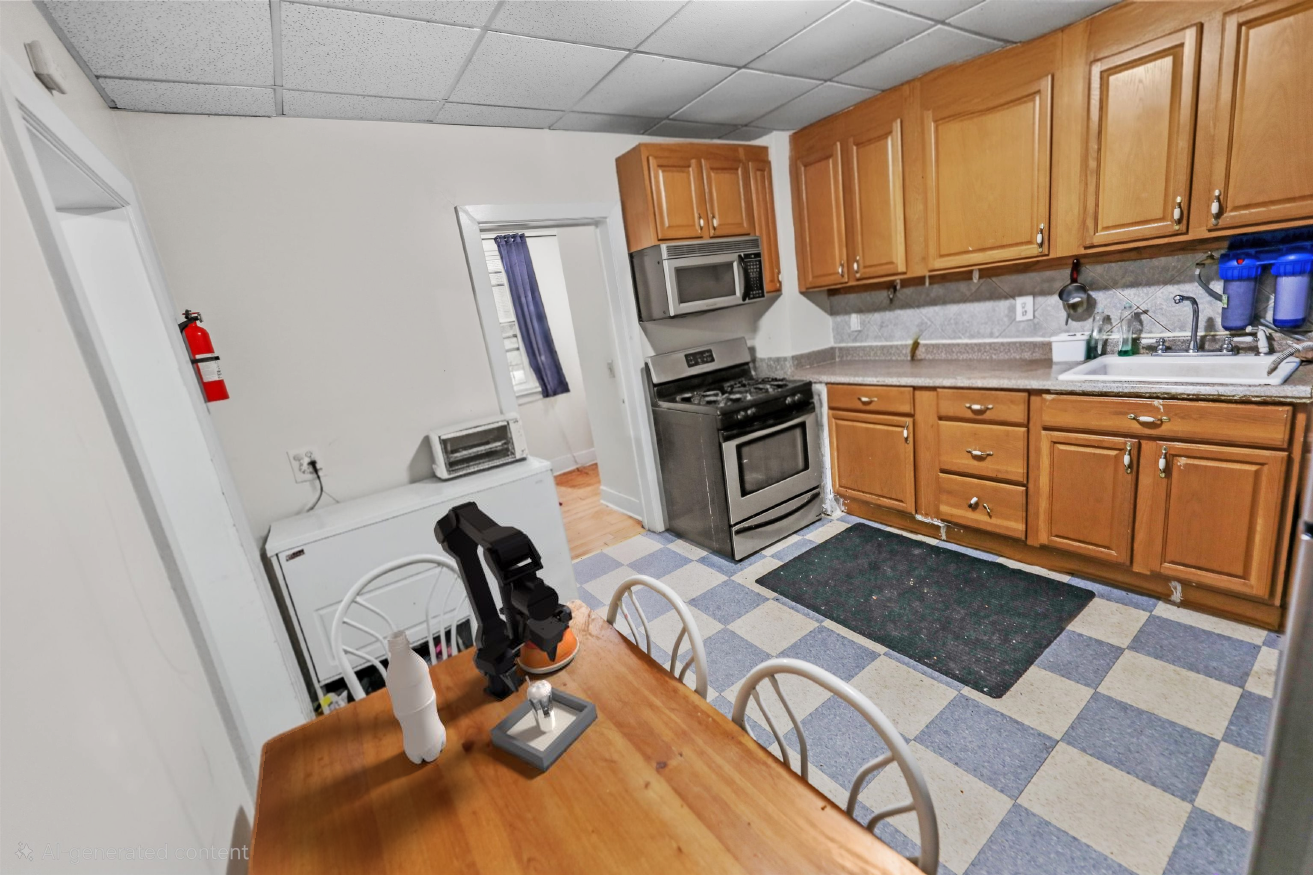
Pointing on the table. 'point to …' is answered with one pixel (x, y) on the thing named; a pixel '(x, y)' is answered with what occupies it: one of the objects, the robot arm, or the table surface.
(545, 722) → the milkshake
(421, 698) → the water bottle
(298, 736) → the table surface
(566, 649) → the stacking toy
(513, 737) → the gray square tray
